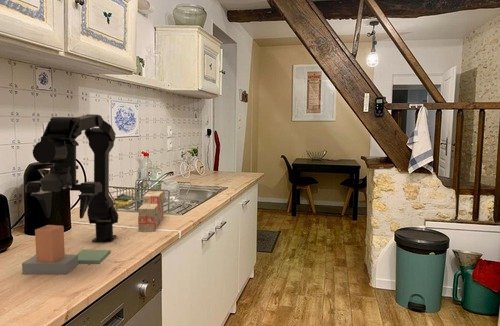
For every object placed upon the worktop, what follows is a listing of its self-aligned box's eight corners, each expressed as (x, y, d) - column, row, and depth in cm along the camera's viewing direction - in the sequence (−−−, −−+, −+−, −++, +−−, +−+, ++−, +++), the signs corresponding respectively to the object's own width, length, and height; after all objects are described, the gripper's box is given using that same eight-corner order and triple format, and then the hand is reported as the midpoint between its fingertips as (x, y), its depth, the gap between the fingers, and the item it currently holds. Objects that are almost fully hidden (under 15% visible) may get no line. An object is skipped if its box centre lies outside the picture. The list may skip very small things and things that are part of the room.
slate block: (36, 264, 105) (36, 254, 105) (78, 264, 106) (77, 254, 105) (22, 273, 98) (21, 263, 98) (66, 274, 99) (66, 263, 98)
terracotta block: (49, 254, 104) (48, 224, 104) (64, 256, 104) (63, 225, 103) (36, 261, 100) (34, 229, 99) (52, 262, 99) (51, 231, 98)
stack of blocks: (154, 232, 138) (154, 200, 137) (138, 232, 138) (137, 200, 136) (163, 217, 159) (163, 190, 158) (149, 217, 159) (149, 190, 158)
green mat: (82, 252, 115) (82, 249, 115) (110, 252, 115) (110, 249, 115) (68, 263, 106) (68, 260, 106) (99, 263, 106) (99, 260, 106)
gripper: (11, 162, 91) (12, 223, 92) (85, 164, 92) (85, 224, 92) (37, 161, 103) (37, 215, 103) (102, 162, 103) (102, 216, 103)
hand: (64, 218), depth 100 cm, fingers open, 9 cm apart
